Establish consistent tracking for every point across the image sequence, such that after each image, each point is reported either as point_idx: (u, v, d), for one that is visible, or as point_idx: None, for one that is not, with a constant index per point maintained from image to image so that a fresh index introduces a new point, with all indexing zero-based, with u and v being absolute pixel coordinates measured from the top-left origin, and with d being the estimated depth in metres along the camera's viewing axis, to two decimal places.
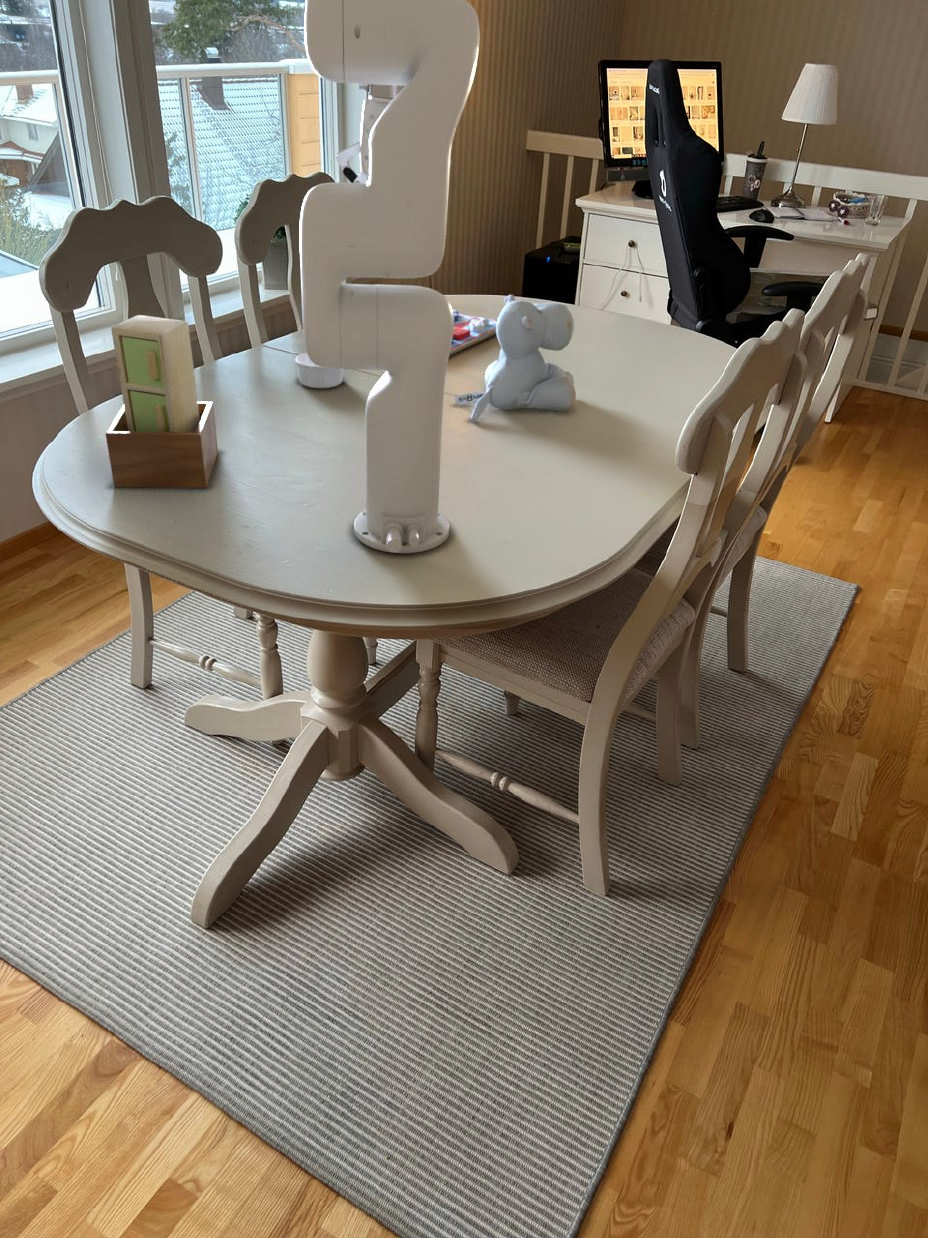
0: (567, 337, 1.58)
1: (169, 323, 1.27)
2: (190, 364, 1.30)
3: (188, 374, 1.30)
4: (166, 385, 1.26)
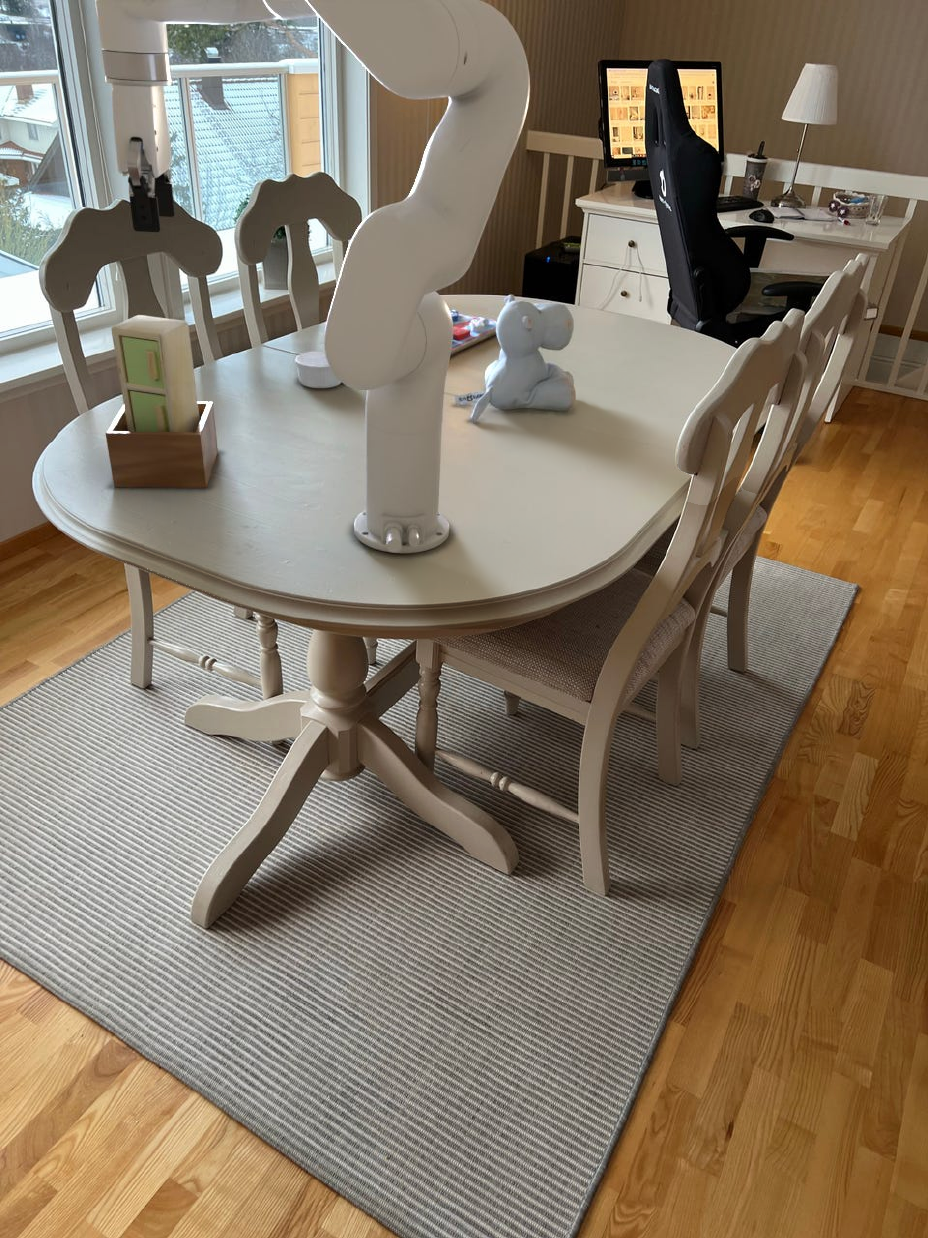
0: (567, 337, 1.58)
1: (169, 323, 1.27)
2: (190, 364, 1.30)
3: (188, 374, 1.30)
4: (166, 385, 1.26)
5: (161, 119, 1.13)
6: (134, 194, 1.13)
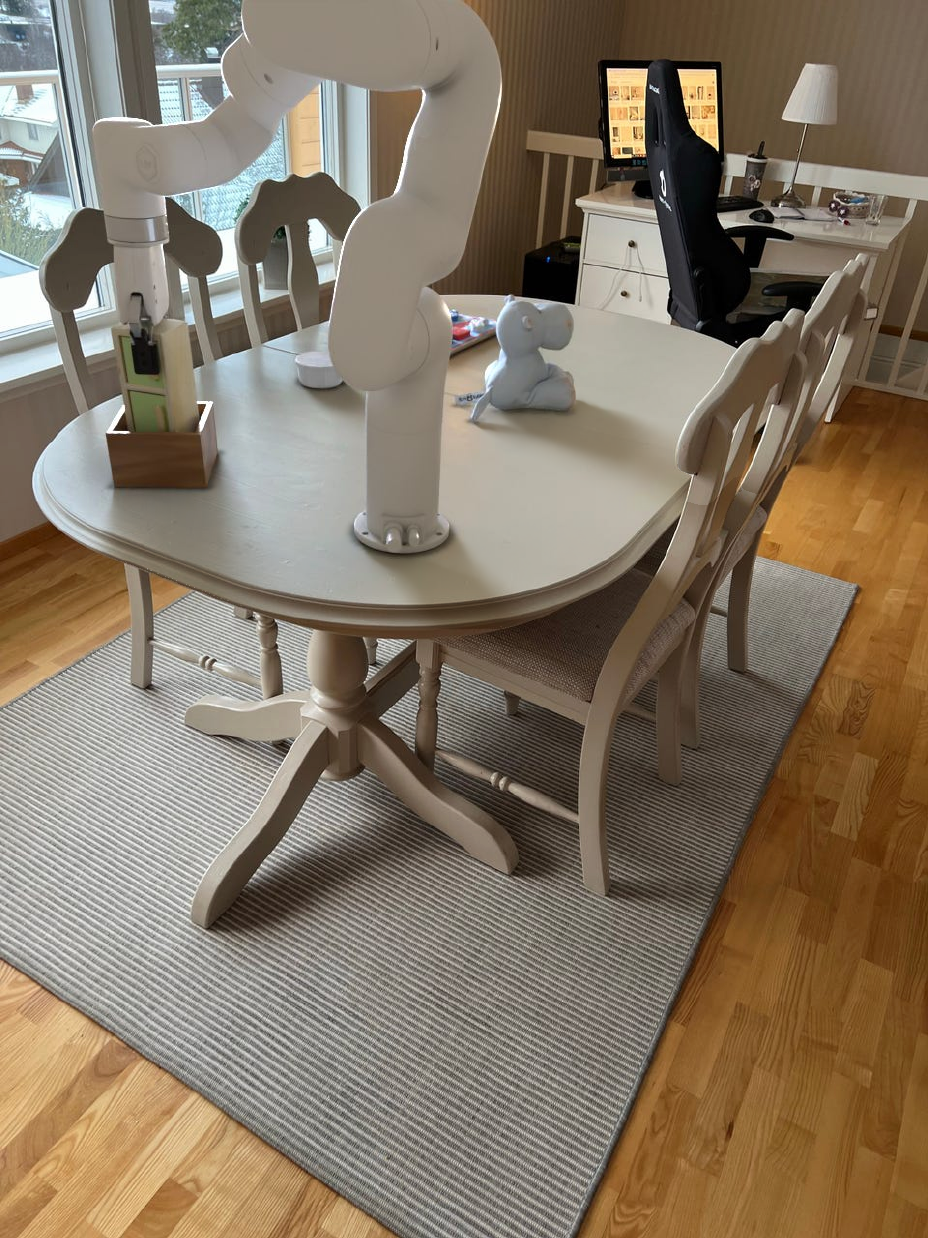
0: (567, 337, 1.58)
1: (169, 323, 1.26)
2: (190, 364, 1.30)
3: (188, 374, 1.30)
4: (165, 385, 1.26)
5: (159, 273, 1.21)
6: (135, 344, 1.21)
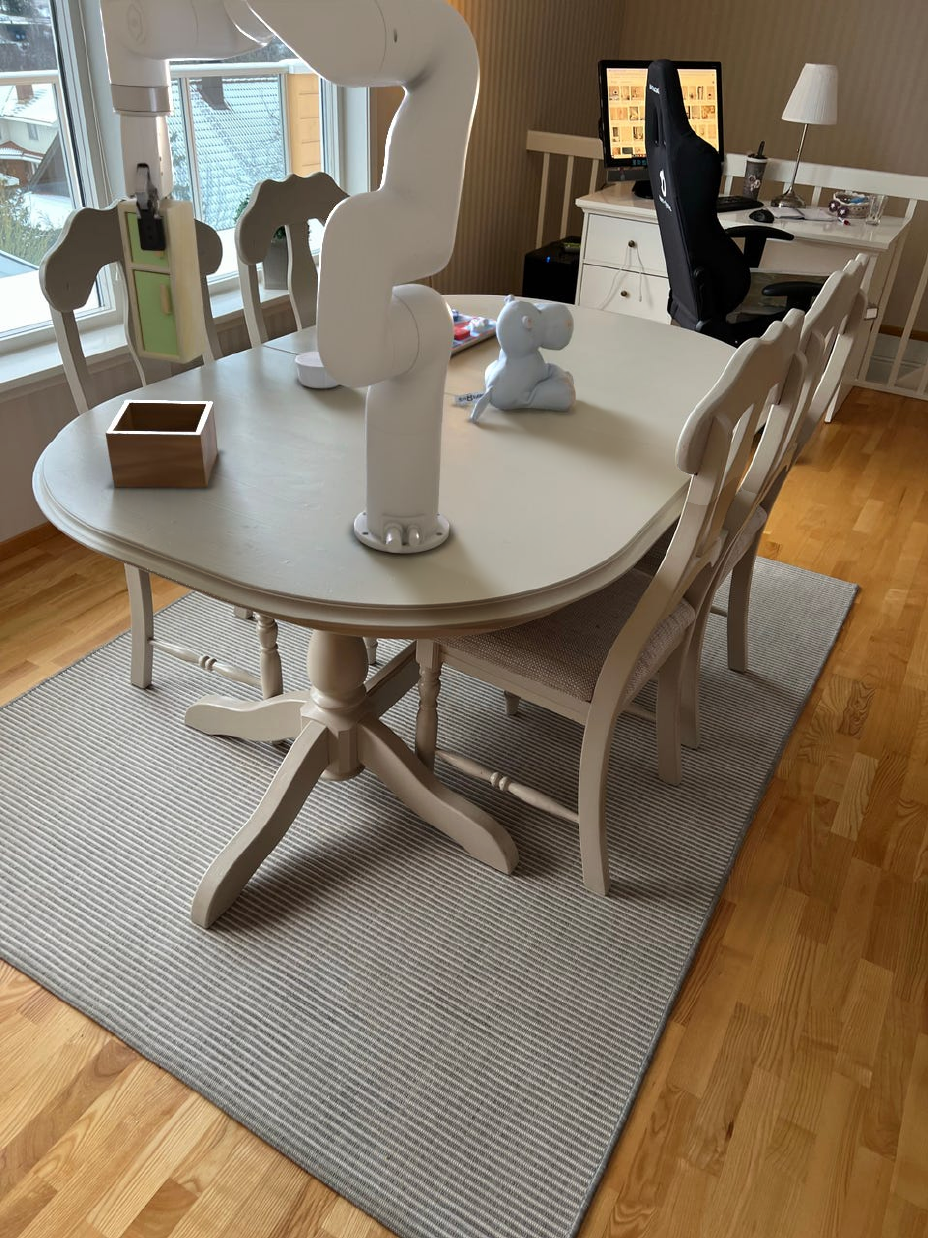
0: (567, 337, 1.58)
1: (174, 202, 1.28)
2: (195, 246, 1.32)
3: (192, 256, 1.32)
4: (170, 263, 1.28)
5: (165, 146, 1.22)
6: (141, 217, 1.23)
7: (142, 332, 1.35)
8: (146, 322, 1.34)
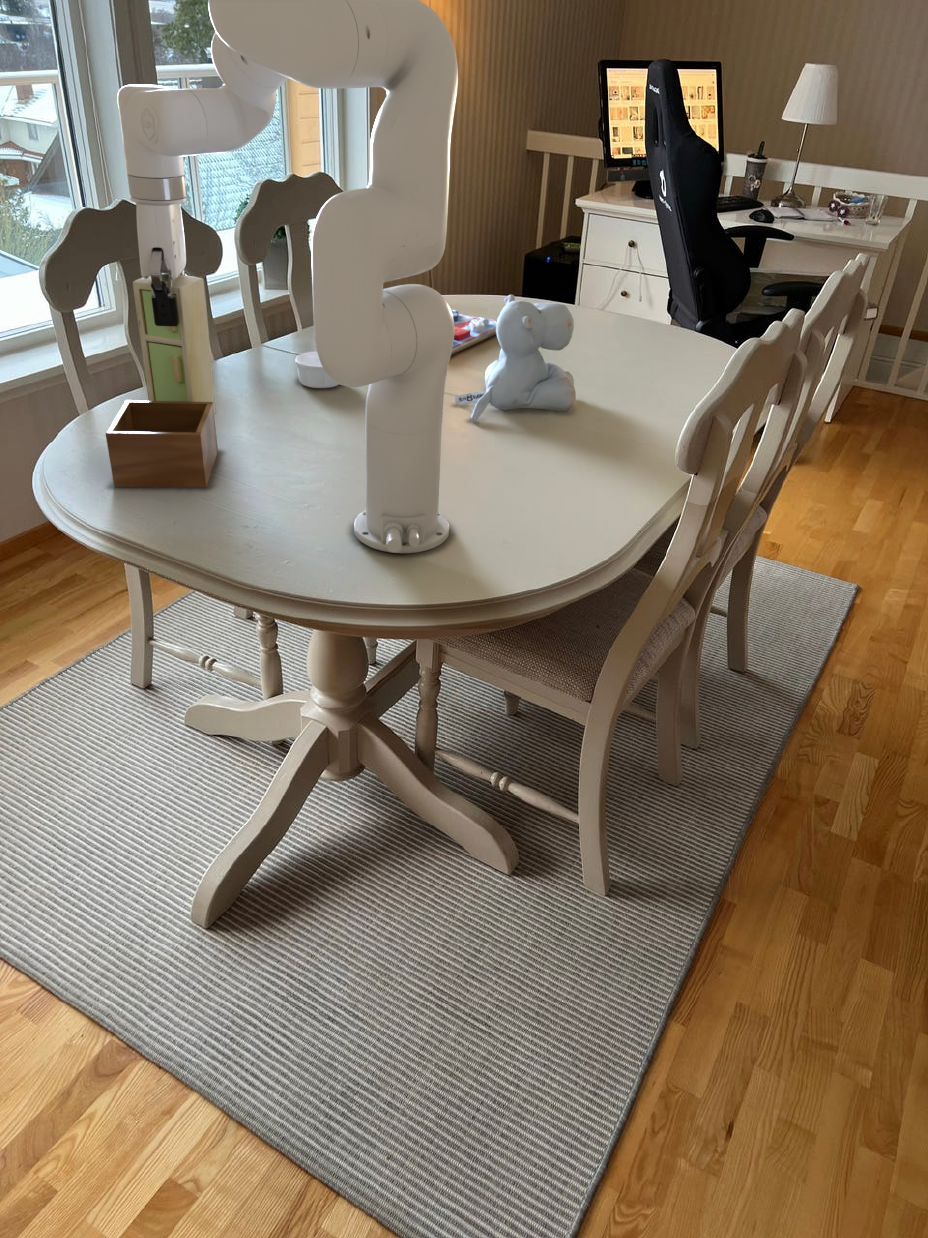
0: (567, 337, 1.58)
1: (186, 279, 1.36)
2: (205, 318, 1.40)
3: (203, 328, 1.40)
4: (182, 336, 1.36)
5: (178, 230, 1.30)
6: (156, 296, 1.30)
7: (155, 398, 1.43)
8: (159, 389, 1.42)
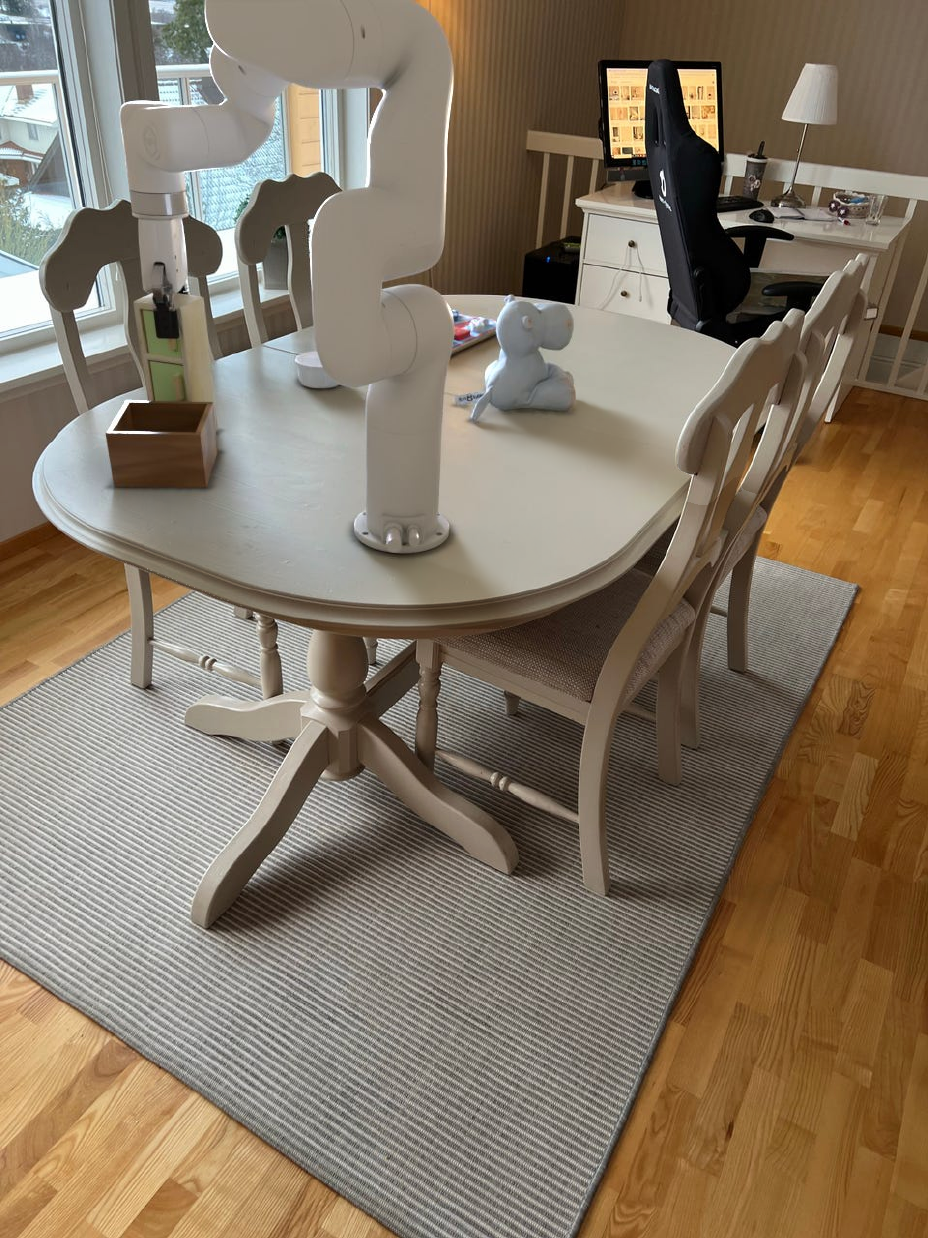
0: (567, 337, 1.58)
1: (186, 298, 1.37)
2: (205, 336, 1.41)
3: (203, 346, 1.41)
4: (183, 355, 1.37)
5: (180, 244, 1.31)
6: (157, 309, 1.31)
7: None
8: None
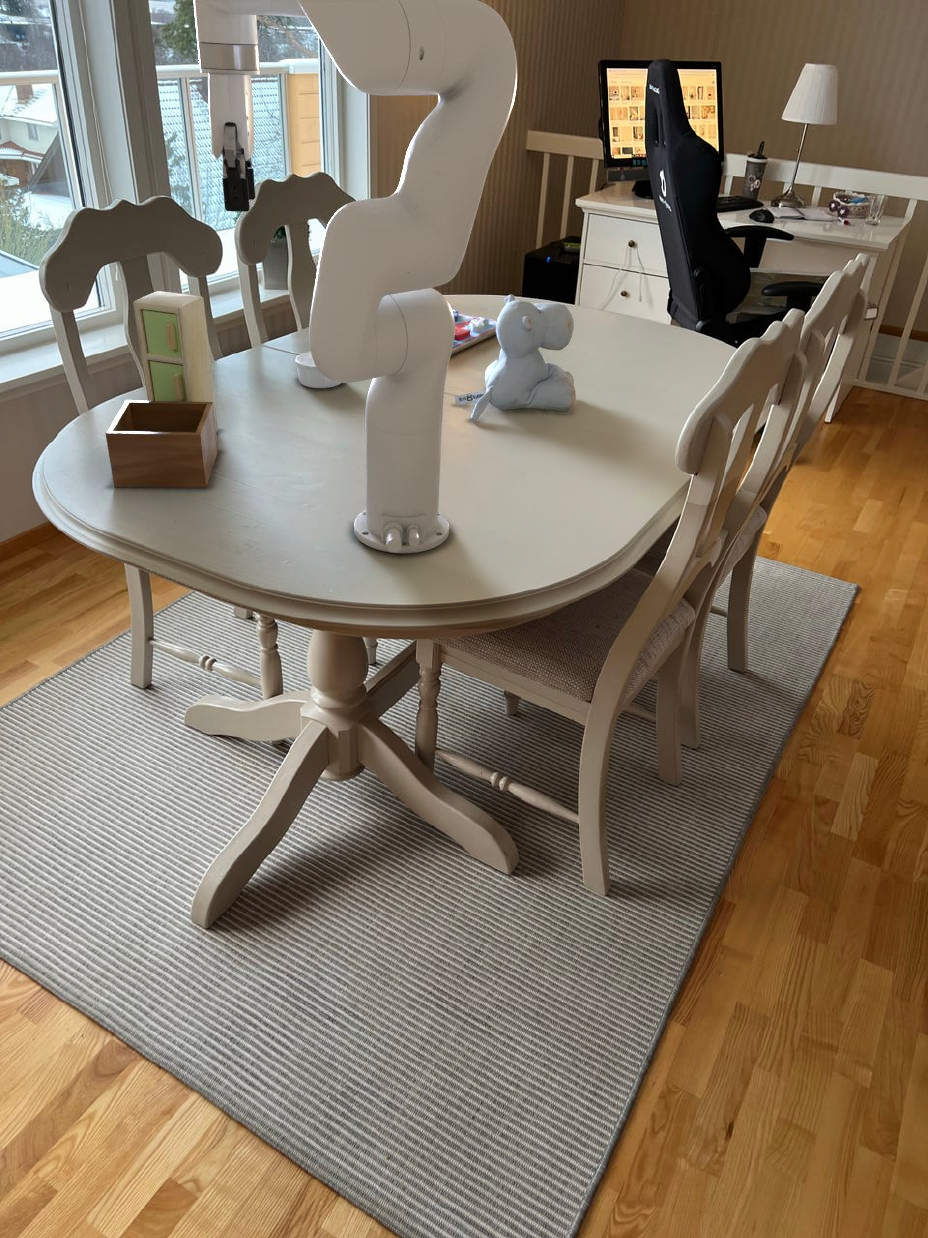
0: (567, 337, 1.58)
1: (186, 298, 1.37)
2: (205, 336, 1.41)
3: (203, 346, 1.41)
4: (183, 355, 1.37)
5: (251, 106, 1.22)
6: (227, 176, 1.22)
7: None
8: None
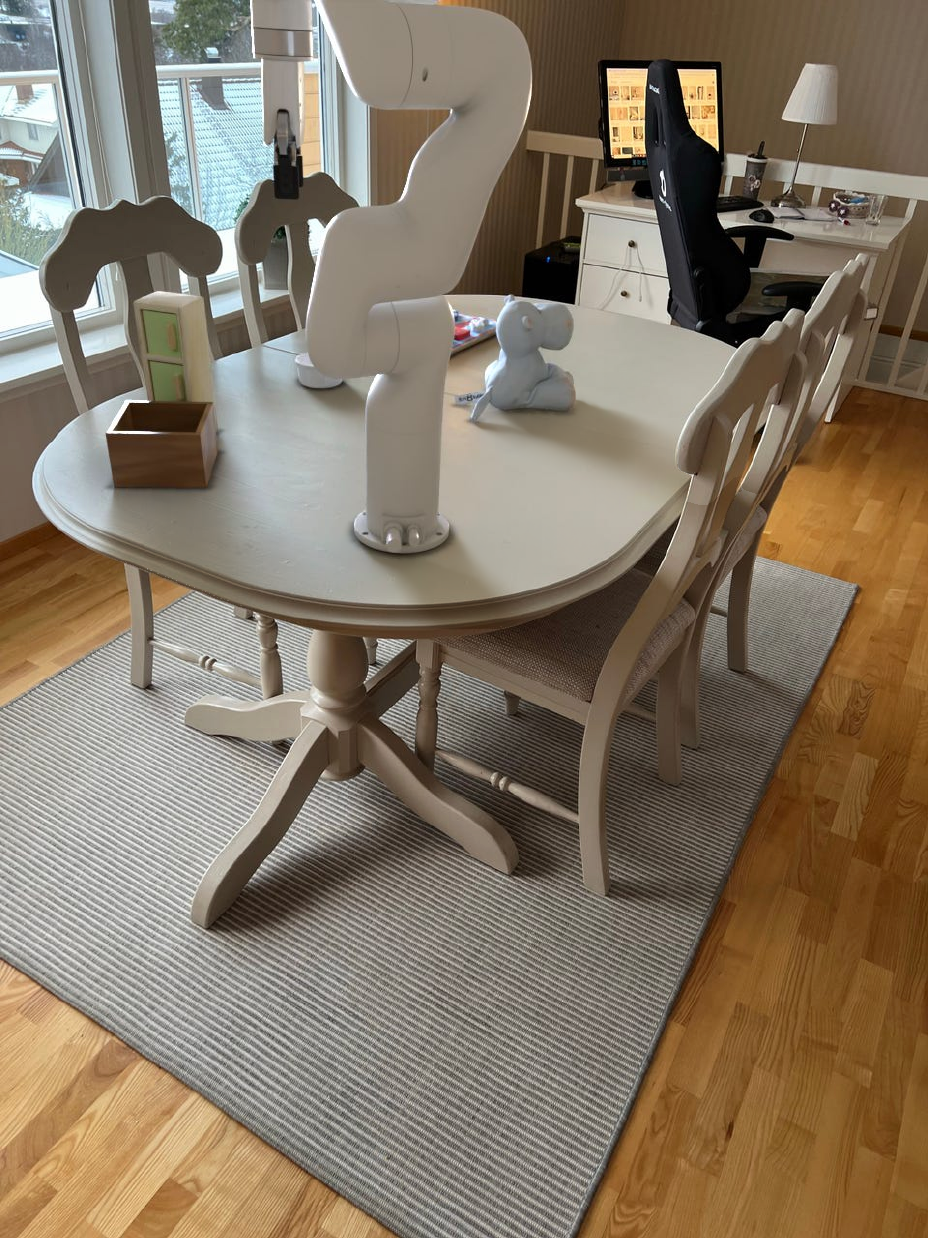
0: (567, 337, 1.58)
1: (186, 298, 1.37)
2: (205, 336, 1.41)
3: (203, 346, 1.41)
4: (183, 355, 1.37)
5: (303, 93, 1.21)
6: (278, 163, 1.21)
7: None
8: None
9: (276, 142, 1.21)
